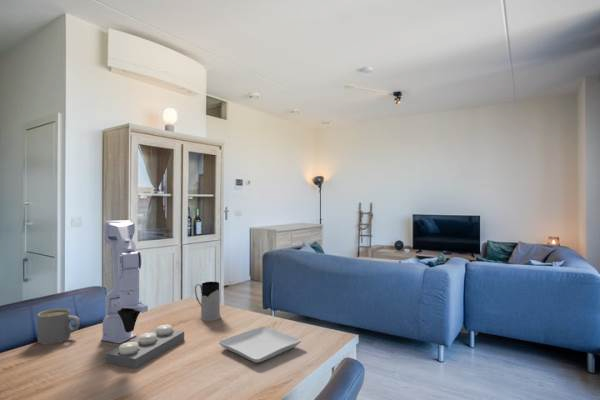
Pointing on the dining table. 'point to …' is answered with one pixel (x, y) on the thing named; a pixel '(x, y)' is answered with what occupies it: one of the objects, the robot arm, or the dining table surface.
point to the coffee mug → (55, 325)
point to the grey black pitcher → (209, 301)
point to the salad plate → (260, 343)
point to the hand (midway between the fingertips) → (129, 331)
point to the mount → (144, 350)
